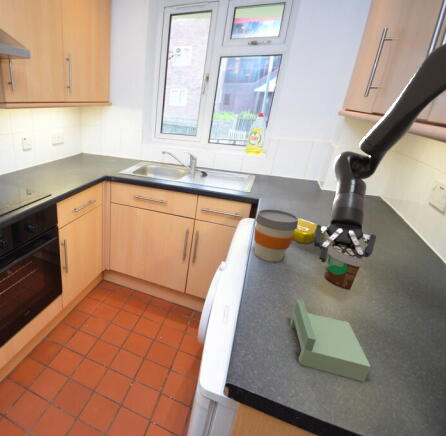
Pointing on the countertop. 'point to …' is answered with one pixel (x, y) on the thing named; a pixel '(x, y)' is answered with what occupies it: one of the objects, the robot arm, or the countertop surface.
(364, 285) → the countertop surface
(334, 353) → the green stand base
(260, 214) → the reusable coffee cup
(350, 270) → the food container
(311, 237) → the yellow flat block
